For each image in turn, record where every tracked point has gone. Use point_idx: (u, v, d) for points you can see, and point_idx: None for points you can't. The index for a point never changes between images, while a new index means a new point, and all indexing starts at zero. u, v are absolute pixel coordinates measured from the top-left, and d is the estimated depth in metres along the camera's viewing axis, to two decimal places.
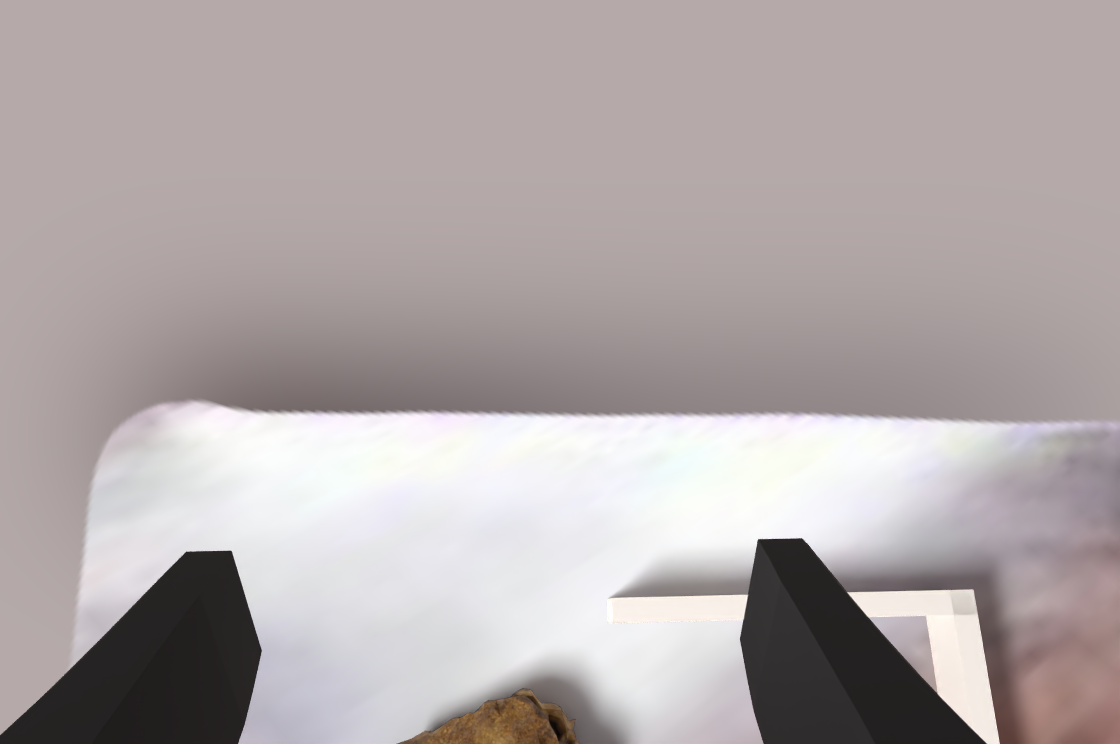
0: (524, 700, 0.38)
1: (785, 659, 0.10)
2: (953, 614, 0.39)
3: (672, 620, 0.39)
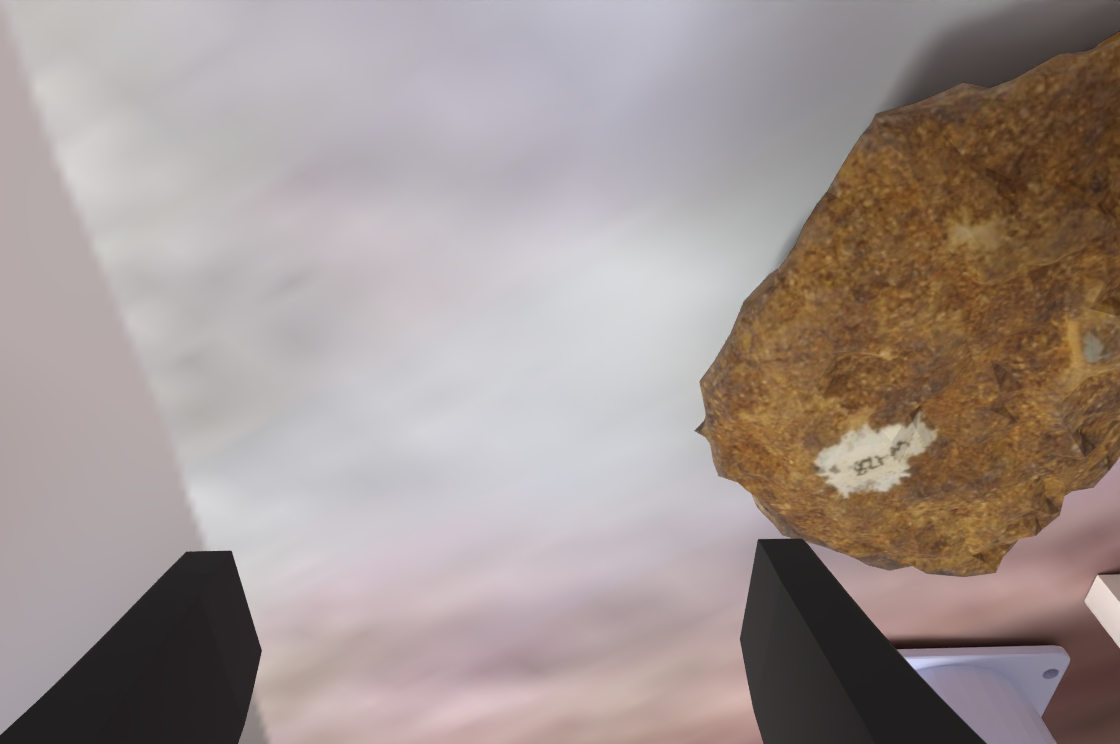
0: None
1: (785, 659, 0.10)
2: None
3: None
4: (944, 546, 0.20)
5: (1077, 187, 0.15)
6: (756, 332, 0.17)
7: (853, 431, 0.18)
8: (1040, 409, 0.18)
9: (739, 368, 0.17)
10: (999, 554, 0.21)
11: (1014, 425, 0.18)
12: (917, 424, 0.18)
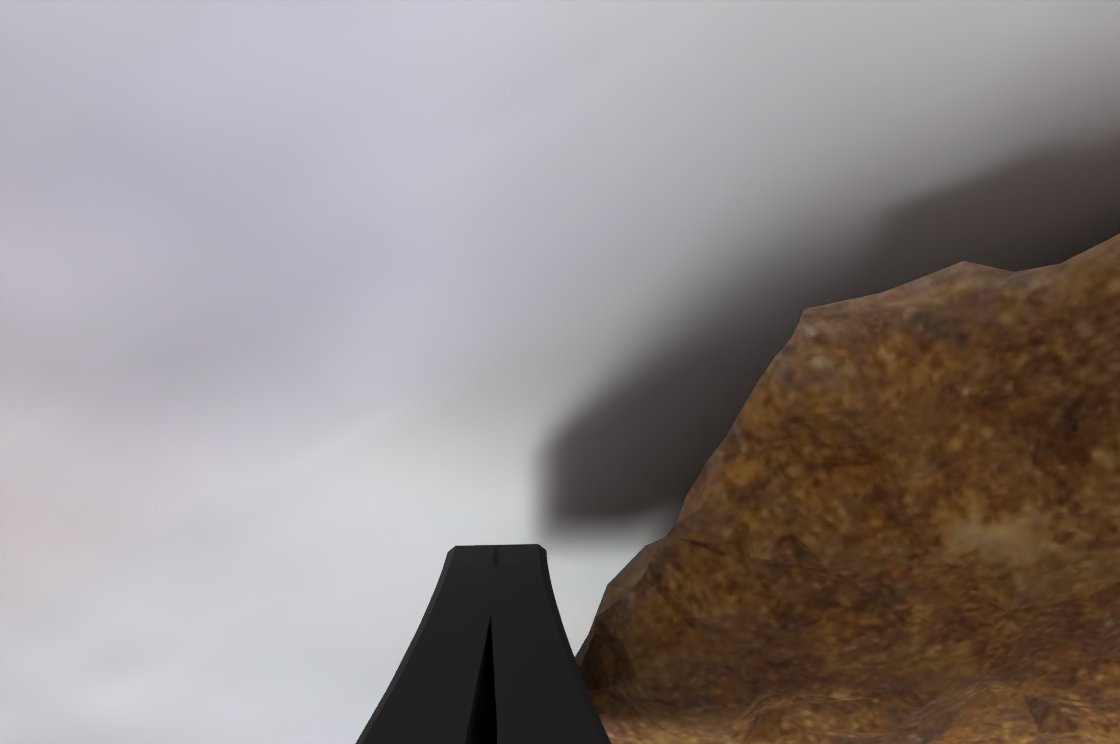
0: None
1: (494, 666, 0.10)
2: None
3: None
4: None
5: None
6: (621, 654, 0.10)
7: None
8: None
9: (600, 700, 0.10)
10: None
11: None
12: None
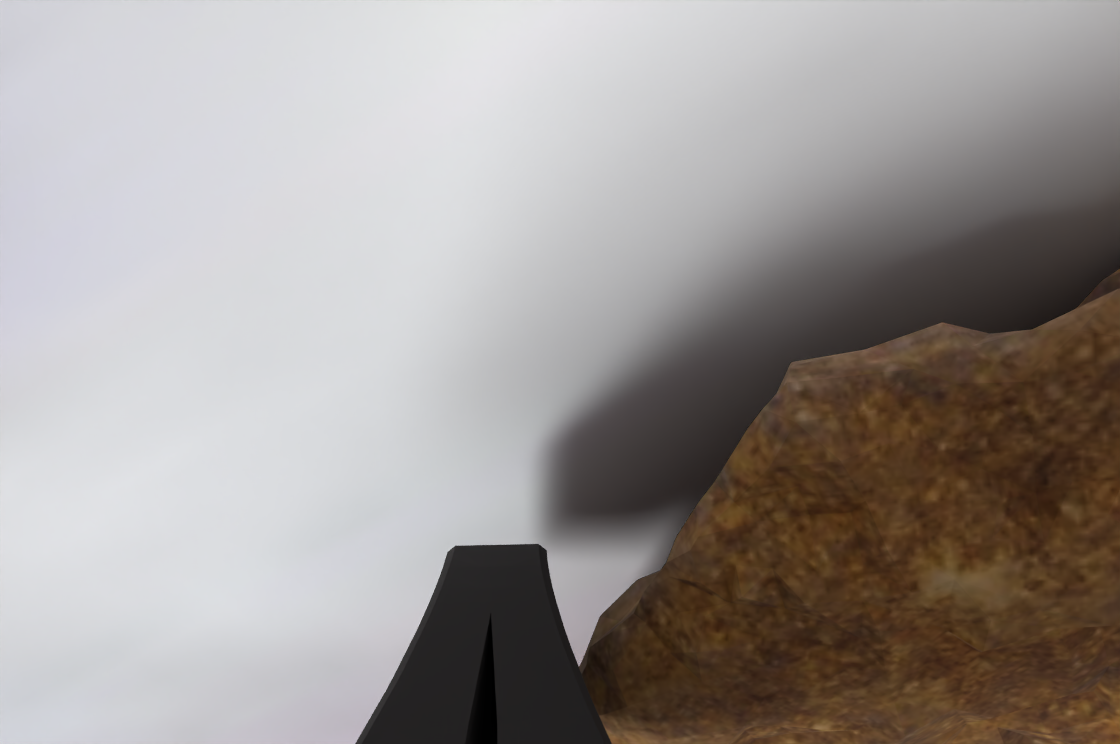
0: None
1: None
2: None
3: None
4: None
5: None
6: (612, 684, 0.10)
7: None
8: None
9: None
10: None
11: None
12: None
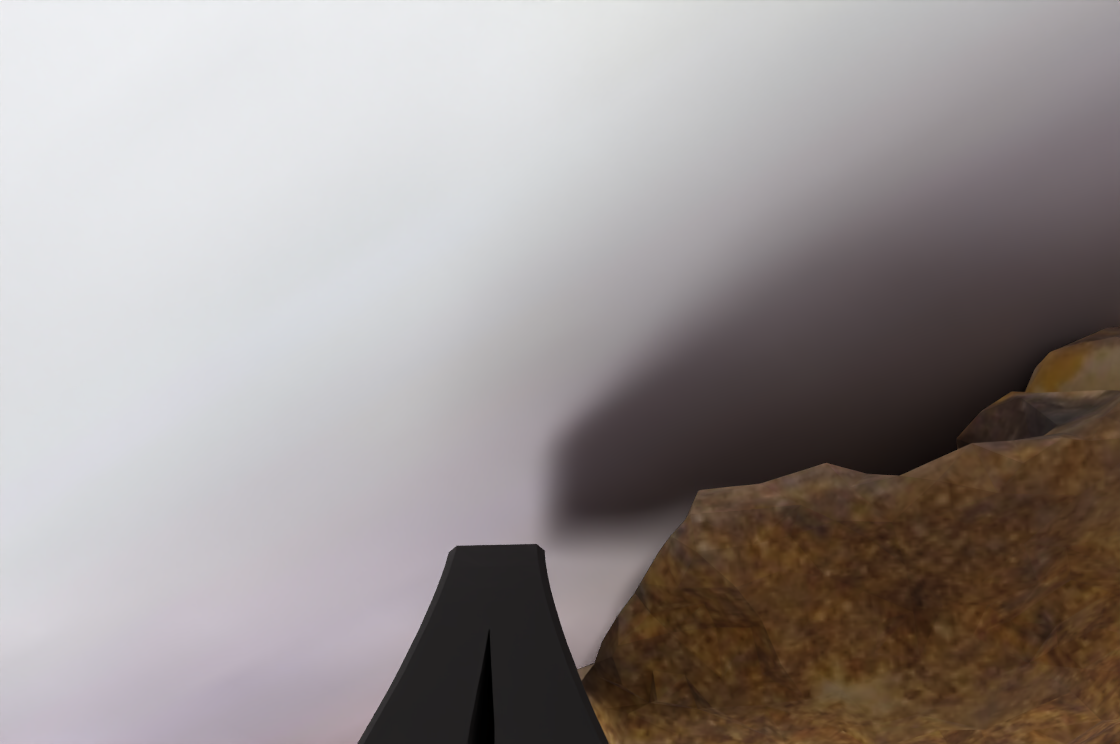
0: None
1: None
2: None
3: None
4: None
5: (1013, 632, 0.09)
6: None
7: None
8: None
9: None
10: None
11: None
12: None
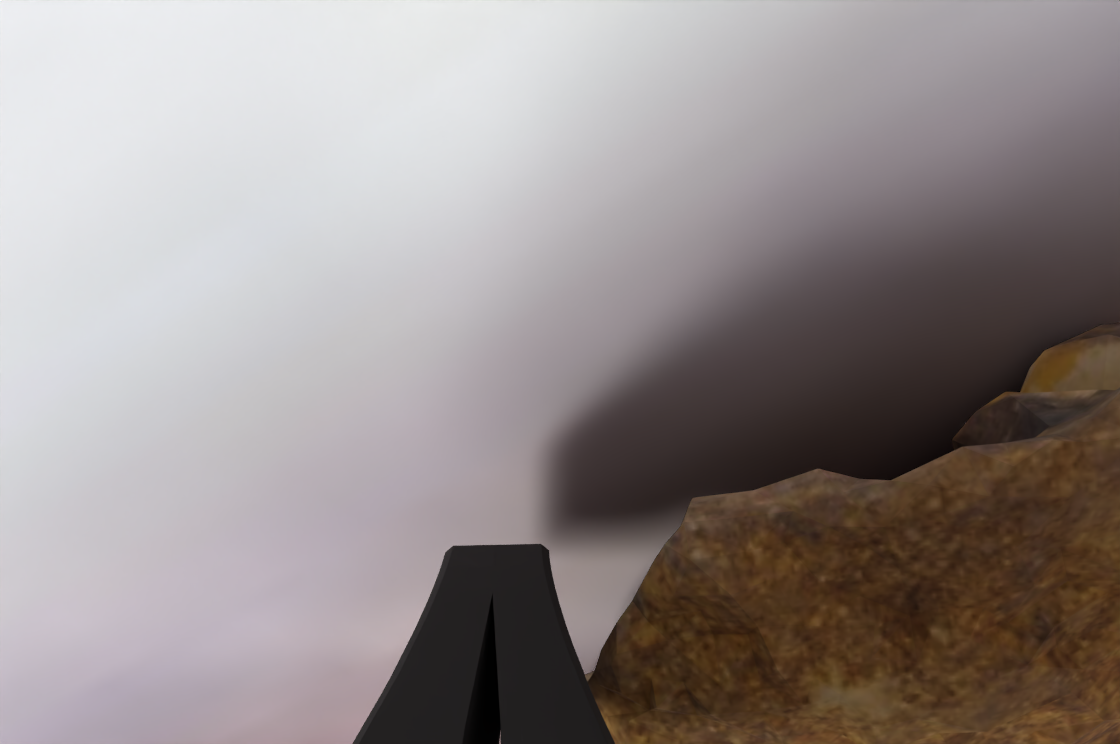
0: None
1: None
2: None
3: None
4: None
5: (1010, 634, 0.09)
6: None
7: None
8: None
9: None
10: None
11: None
12: None
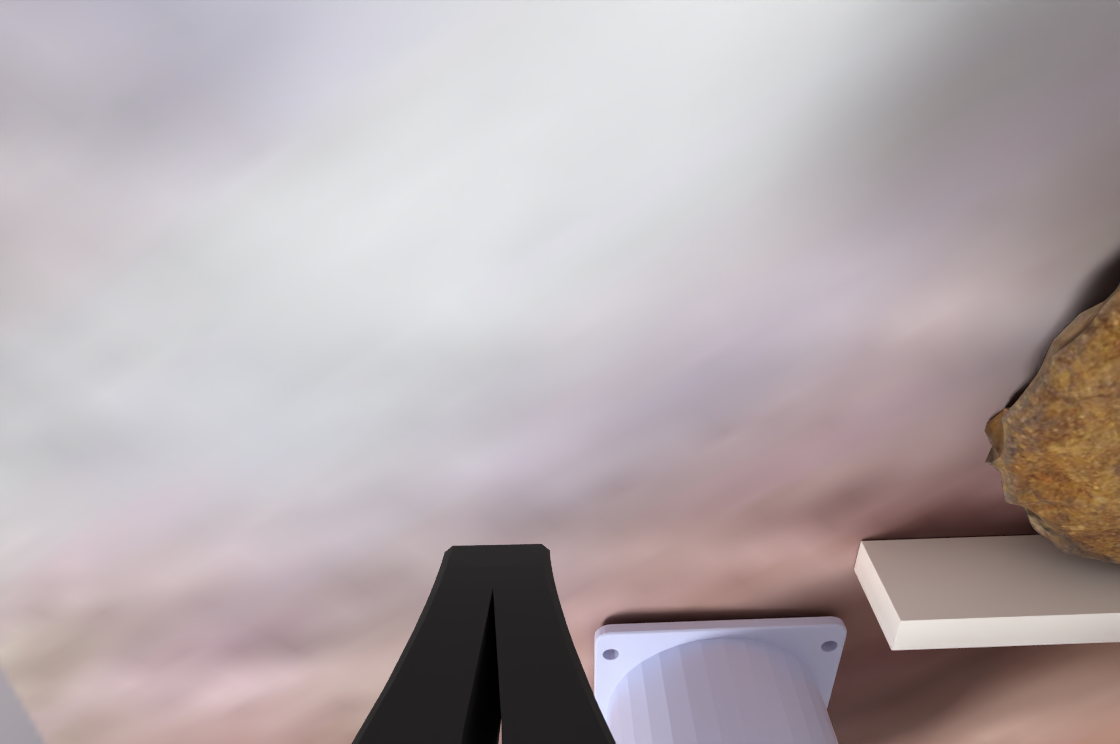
0: None
1: None
2: None
3: None
4: None
5: None
6: (1076, 371, 0.18)
7: None
8: None
9: (1054, 404, 0.18)
10: None
11: None
12: None
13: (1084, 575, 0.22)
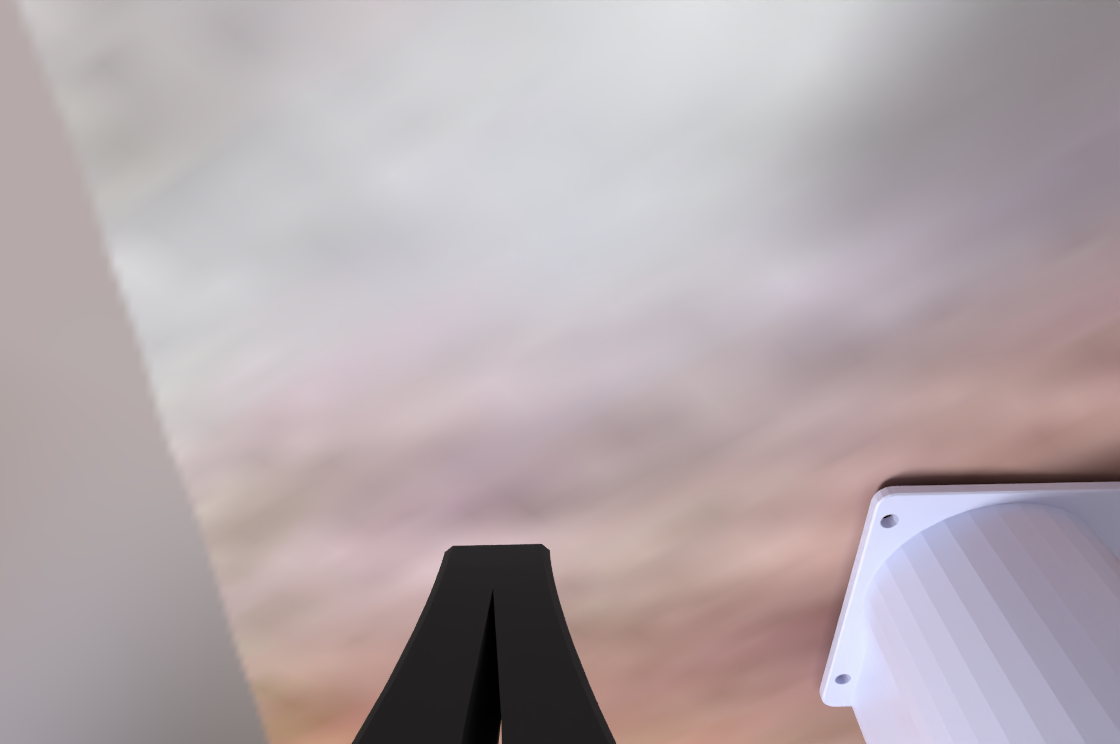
0: None
1: None
2: None
3: None
4: None
5: None
6: None
7: None
8: None
9: None
10: None
11: None
12: None
13: None
